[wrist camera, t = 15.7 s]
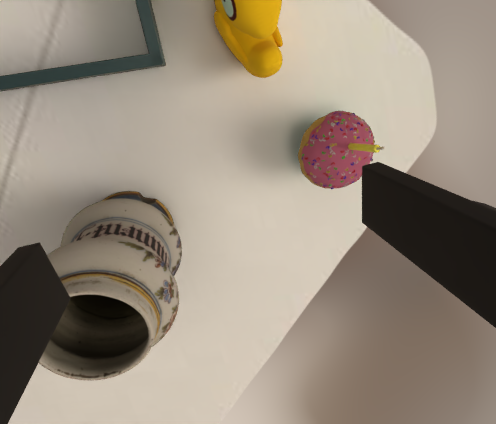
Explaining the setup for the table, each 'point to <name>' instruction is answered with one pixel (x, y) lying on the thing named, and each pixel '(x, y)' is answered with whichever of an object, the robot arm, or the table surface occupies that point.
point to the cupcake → (336, 149)
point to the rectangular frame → (99, 67)
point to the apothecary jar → (114, 286)
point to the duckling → (251, 33)
